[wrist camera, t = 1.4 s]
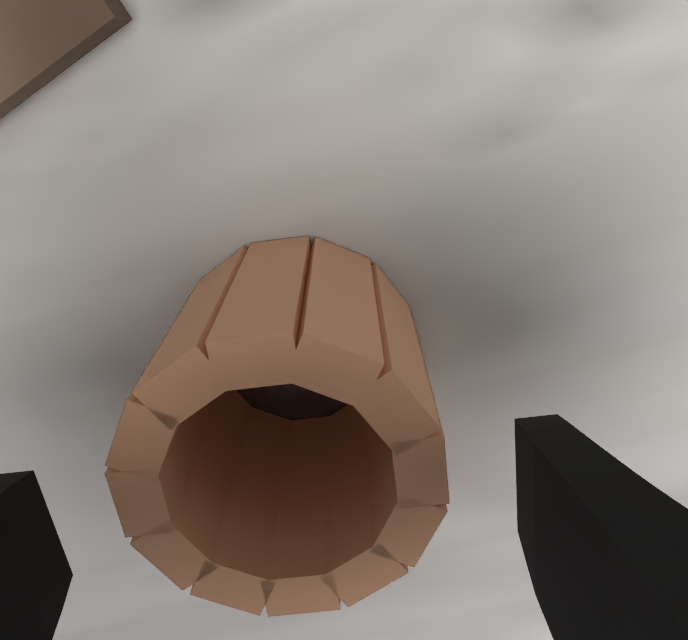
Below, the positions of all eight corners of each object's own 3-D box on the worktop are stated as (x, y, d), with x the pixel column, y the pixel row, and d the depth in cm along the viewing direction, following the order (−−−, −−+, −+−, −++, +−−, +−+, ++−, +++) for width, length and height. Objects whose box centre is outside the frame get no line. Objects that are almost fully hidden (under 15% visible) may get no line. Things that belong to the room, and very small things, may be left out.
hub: (209, 458, 16) (154, 627, 11) (158, 254, 14) (67, 358, 9) (422, 434, 16) (456, 598, 11) (402, 223, 14) (434, 315, 9)
